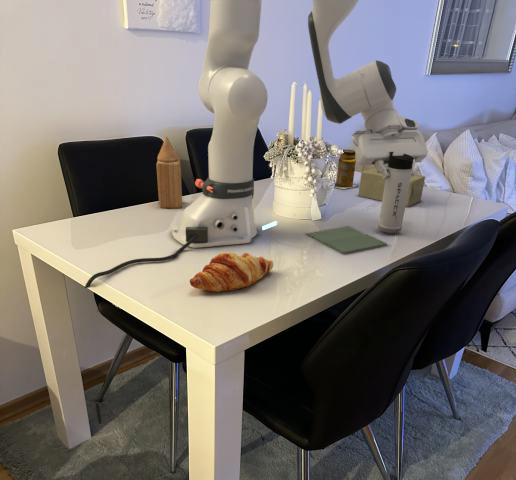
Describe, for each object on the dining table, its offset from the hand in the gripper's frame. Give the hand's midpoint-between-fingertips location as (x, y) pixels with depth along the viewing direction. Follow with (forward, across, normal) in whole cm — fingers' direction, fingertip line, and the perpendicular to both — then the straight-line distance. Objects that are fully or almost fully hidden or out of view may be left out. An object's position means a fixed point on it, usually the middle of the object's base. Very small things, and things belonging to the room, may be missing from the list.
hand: (399, 176), depth 131 cm
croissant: (+24, -52, -2) cm, 57 cm away
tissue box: (-10, +20, +32) cm, 39 cm away
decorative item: (-18, -52, +40) cm, 68 cm away
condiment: (-24, +13, +46) cm, 53 cm away
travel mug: (+10, 0, +11) cm, 15 cm away
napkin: (+12, -15, +10) cm, 21 cm away
